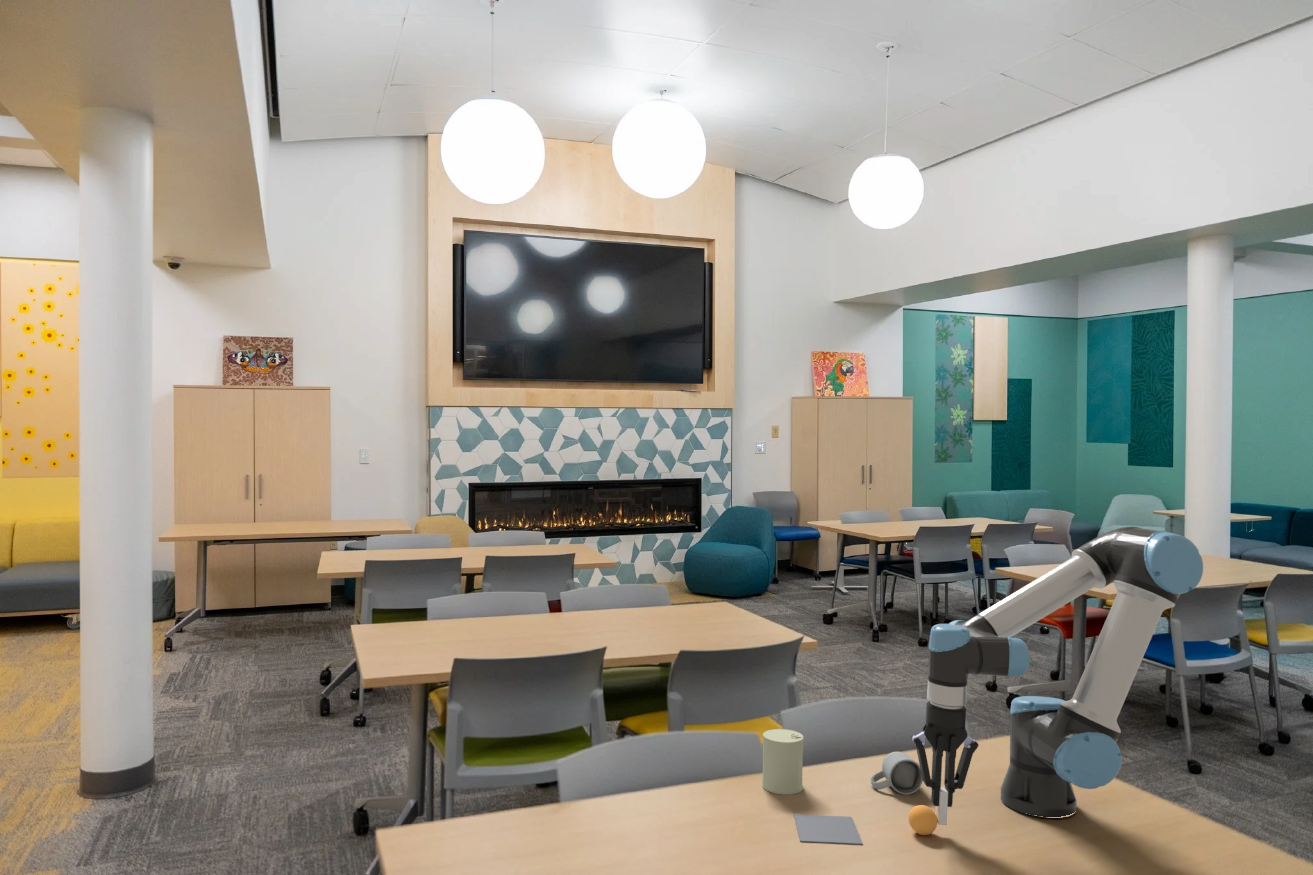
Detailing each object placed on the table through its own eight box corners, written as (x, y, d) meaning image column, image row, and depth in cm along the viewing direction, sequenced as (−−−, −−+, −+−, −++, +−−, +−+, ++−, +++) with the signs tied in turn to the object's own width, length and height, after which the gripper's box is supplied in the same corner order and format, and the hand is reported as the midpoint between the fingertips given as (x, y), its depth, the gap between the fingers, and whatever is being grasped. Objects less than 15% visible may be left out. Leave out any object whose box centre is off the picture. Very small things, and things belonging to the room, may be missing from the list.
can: (802, 796, 188) (803, 741, 188) (760, 792, 190) (761, 738, 190) (803, 780, 197) (804, 728, 197) (763, 776, 199) (764, 725, 199)
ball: (938, 811, 173) (916, 794, 174) (946, 823, 168) (923, 806, 168) (922, 832, 174) (900, 816, 174) (929, 845, 168) (906, 828, 168)
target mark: (851, 817, 178) (851, 816, 178) (862, 844, 166) (862, 843, 166) (793, 815, 178) (793, 814, 178) (800, 841, 166) (800, 840, 166)
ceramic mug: (911, 780, 198) (911, 747, 199) (923, 794, 190) (923, 760, 190) (865, 781, 198) (865, 747, 198) (876, 795, 190) (876, 760, 190)
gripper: (973, 700, 174) (968, 816, 174) (908, 695, 175) (903, 811, 175) (985, 711, 167) (980, 832, 166) (918, 706, 167) (912, 827, 167)
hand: (940, 821), depth 170 cm, fingers closed
